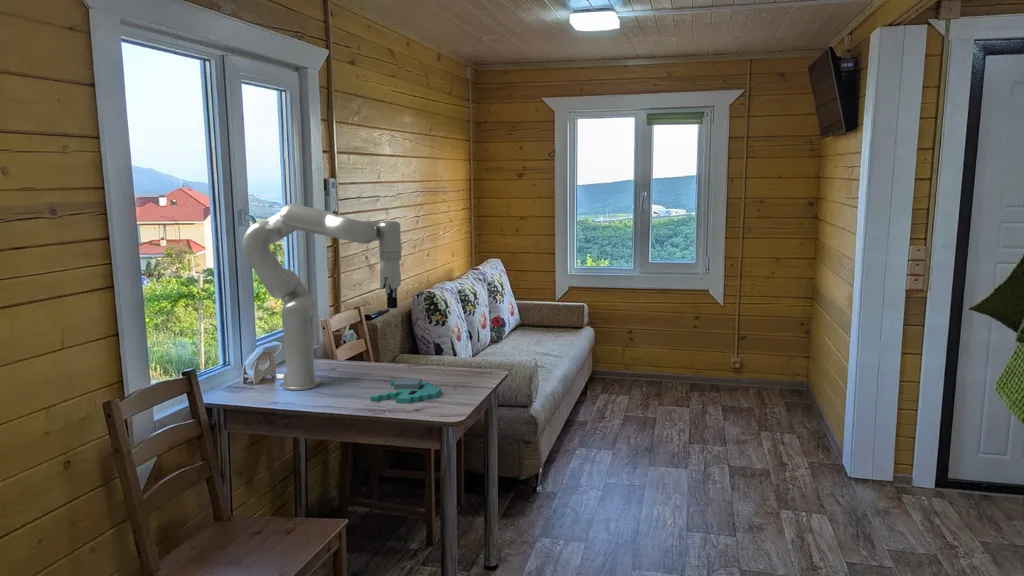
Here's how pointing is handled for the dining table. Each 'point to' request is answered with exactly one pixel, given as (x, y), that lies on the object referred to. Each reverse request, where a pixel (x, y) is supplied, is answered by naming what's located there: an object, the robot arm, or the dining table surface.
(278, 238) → the robot arm
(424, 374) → the dining table surface
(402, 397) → the alien figure
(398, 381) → the grey flat block
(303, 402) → the dining table surface
